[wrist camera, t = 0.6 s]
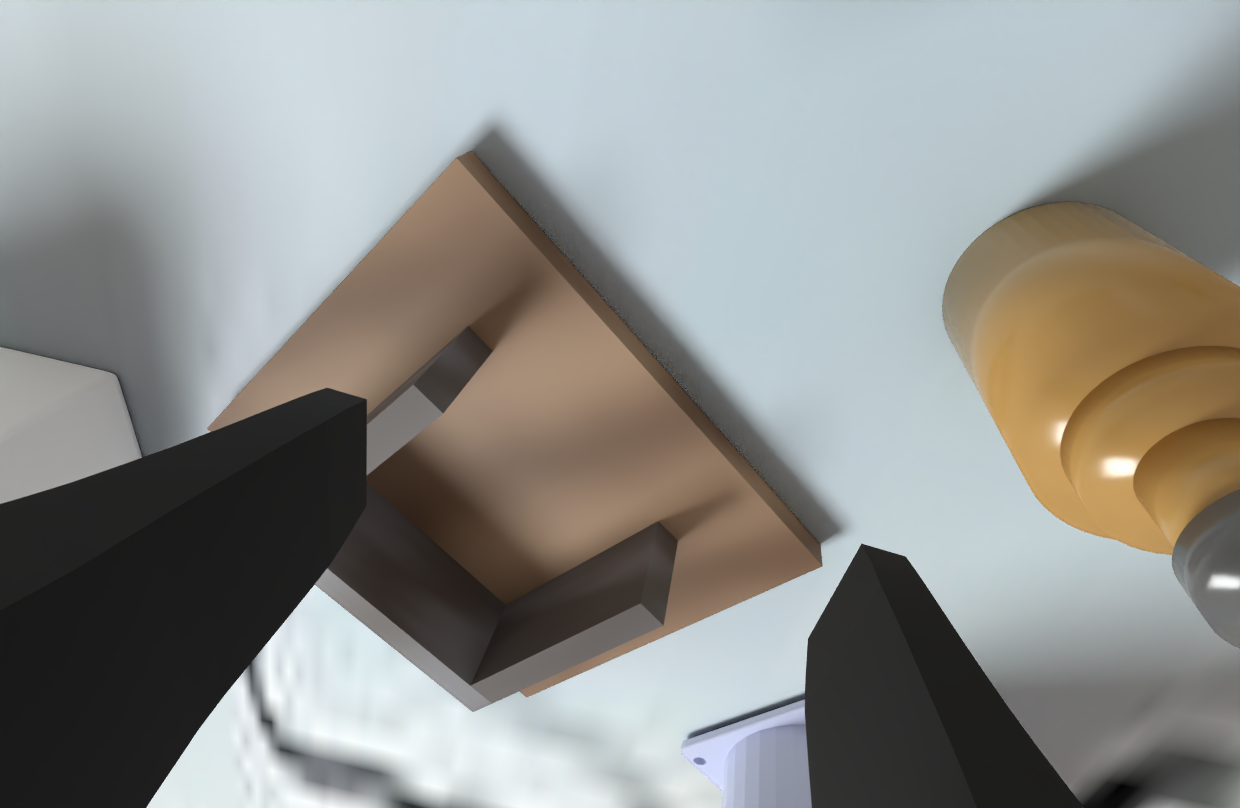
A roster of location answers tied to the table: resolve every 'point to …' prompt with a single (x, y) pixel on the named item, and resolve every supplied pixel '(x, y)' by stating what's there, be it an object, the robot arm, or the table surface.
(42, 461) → the medicine bottle
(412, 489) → the bottle rest
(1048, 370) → the amber bottle
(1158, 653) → the table surface
